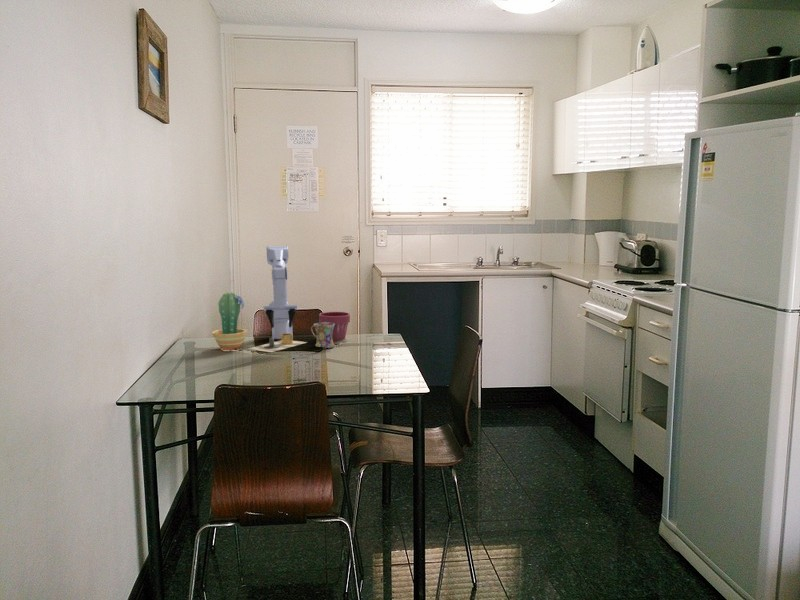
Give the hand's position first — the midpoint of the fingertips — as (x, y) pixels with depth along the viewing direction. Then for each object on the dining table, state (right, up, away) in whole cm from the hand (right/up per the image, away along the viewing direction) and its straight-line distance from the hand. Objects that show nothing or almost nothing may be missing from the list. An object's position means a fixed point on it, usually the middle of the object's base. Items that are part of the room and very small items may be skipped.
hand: (281, 327), depth 291 cm
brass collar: (0, -8, +14) cm, 16 cm away
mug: (+16, -10, +10) cm, 21 cm away
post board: (-3, -10, +9) cm, 14 cm away
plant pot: (+21, -8, +24) cm, 33 cm away
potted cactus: (-24, -10, +8) cm, 27 cm away
